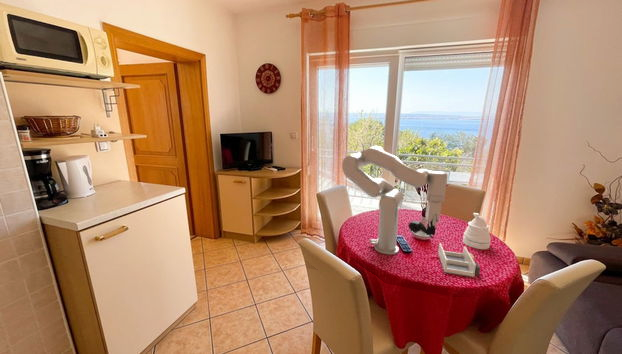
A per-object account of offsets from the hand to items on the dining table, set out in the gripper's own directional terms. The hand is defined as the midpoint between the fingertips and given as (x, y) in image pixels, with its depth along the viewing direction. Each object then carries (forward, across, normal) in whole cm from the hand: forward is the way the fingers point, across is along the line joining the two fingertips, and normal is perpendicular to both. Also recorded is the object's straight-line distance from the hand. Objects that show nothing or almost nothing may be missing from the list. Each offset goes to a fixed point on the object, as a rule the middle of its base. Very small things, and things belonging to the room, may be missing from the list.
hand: (430, 233), depth 121 cm
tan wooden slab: (+14, -4, +20) cm, 25 cm away
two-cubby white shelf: (+14, 0, +12) cm, 19 cm away
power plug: (+5, -1, 0) cm, 5 cm away
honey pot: (+15, -28, +29) cm, 42 cm away
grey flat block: (+14, +5, +20) cm, 25 cm away
